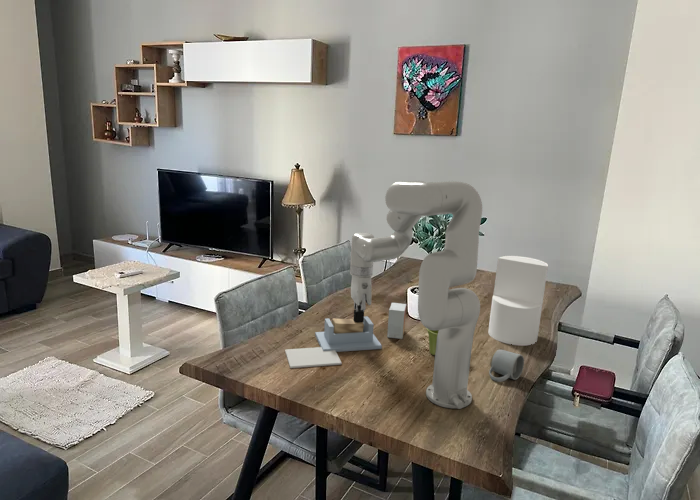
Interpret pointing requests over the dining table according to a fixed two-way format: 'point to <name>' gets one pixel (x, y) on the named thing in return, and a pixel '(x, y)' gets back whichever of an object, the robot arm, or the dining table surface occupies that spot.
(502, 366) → the ceramic mug
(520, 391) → the dining table surface
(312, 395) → the dining table surface
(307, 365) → the mat
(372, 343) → the jig
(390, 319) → the small box
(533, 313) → the cylinder
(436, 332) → the plant pot
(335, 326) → the oak block
